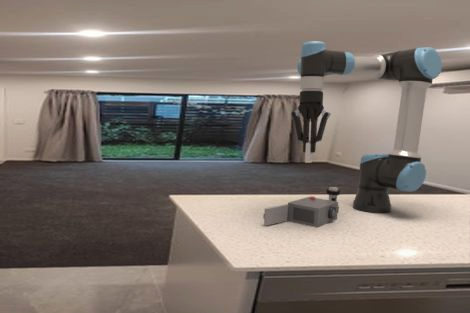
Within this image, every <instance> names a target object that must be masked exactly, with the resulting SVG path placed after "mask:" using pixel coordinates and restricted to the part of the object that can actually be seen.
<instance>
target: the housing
mask: <svg viewBox="0 0 470 313" xmlns="http://www.w3.org/2000/svg"><path fill="white" fill-rule="evenodd" d="M287 204H288V220H287V221H286V222H290V223H296V224H300V225H304V224H305V225H304V226H310V227H313V226H314V228H319V227H322V226H324V225H326V224H329V223H332V222H334V221H336V220H338V214H339V211H338V206H339V201H337V202H336V201H331V200H329V199H324V198H318V197H315V196H313V195H311V196H306V197H304V198H301V199H300V198H299V199H296V200H293V201H290V202H287Z"/></svg>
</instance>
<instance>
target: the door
mask: <svg viewBox="0 0 470 313" xmlns="http://www.w3.org/2000/svg"><path fill="white" fill-rule="evenodd" d="M262 218H263V225H264V226H266V227H267V226H270V225H274V224H279V223H283V222H288V221H287V220H288V203H287V204H286V203H285V204H281V205H276V206H275V205H274V206H270V207H266V208H264V213H263V216H262Z"/></svg>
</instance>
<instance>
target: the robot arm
mask: <svg viewBox="0 0 470 313" xmlns="http://www.w3.org/2000/svg"><path fill="white" fill-rule="evenodd" d="M296 68H297V72H298V75H299V76H300V81H299V85H300V86H299V89H300V92H299V104H298V106H297V107H298V108H297V109H296V110H294V111H292V112H291V116H292V118H293V120H294V125H295V131H296V136H297V140H298V141H300V142H302V144H303V146H302V151H303V153H305V160H304V163H305V164H306V163H309V164H311V163H313V155H314V153H316V148H317V147H316V145H317V143H318V142H321V141H322V140H323V136H324V133H325V129H326V125H327V122H328V119H330V116H331V112H329V111H327V110H326V109H325V107H324V104H323V103H324V92H323V91H322V90H324V82H325V80H324V79H325V77H369V78H371V79H374V80H384V81H385V80H387V81H393V82H395V81H397V82H398V85H399V86H400V87H401V93H400V94H401V96H400V101H399V102H400V103H399V107H398V116H397V122H396V131H395V136H394V137H395V138H394V144H393V149H392V150H391V151H390V152H388V153H382V154H380V153H378V154H377V153H376V154H372V153H371V154H363V155H362V156H361V157H360V163H359V177H358V189H357V192H356V194H355V196H354V200H353V202H352V208H354V209H355V210H358V211H362V212H367V213H375V214H379V213H380V214H381V213H383V214H384V213H390V212H391V211H392V204H391V199H390V195H389V189H394V190H399V191H401V192H408V193H410V192H416V191H417V190H418V189H419V188H420V187H421V186H422V185H423V183H424V182H425V180H426V176H427V169H426V166H425V164H424V163H422V162H421V161H422V156H421V155H420V154H419V153H418V151H419V145H420V138H421V133H422V132H421V131H422V124H423V116H424V110H425V102H426V98H427V97H426V96H427V90H428V89H429V88H430V87H432V85H433V79H437V78H438V77H439V75H440V74H441V71H442V68H443V62H442V59H441V56H440V54H439V52H438V51H437V50H436V49H435V48H433V47H429V46H425V47H417V48H411V49H403V50H397V51H393V52H389V53H383V54H382V53H381V54H374V55H372V56H354V55H353V53H351V52H347V51H344V50H343V51H339V50H331V49H330V50H329V49H326V43H325V42H323V41H319V40H318V41H317V40H312V41H311V40H310V41H306V42H304V43H302V46H301V52H300V59H299V61H298V62H297V65H296ZM300 116H301V117H302V120H301V117H300ZM320 116H321V118H320V123H319V125H318V121H319V120H318V119H319V117H320ZM302 121H303V126H302ZM318 126H319V127H318ZM302 127H303V128H302Z"/></svg>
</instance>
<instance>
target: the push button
mask: <svg viewBox="0 0 470 313" xmlns="http://www.w3.org/2000/svg"><path fill="white" fill-rule="evenodd" d="M340 193H341V190H339V187H336V186H329V187H328V189H326V194H327V195H328V200H331V201H336V202H338V196H339V195H340ZM339 208H340V207H339V205H338V212H339Z"/></svg>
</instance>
